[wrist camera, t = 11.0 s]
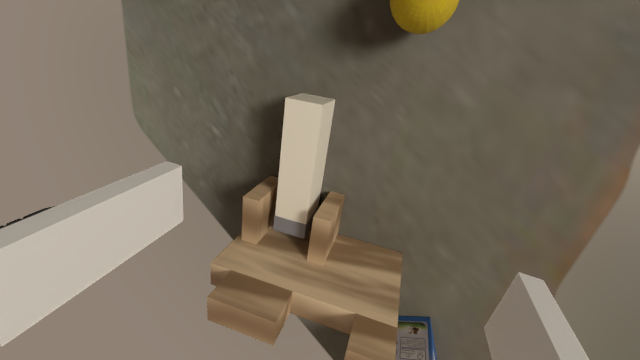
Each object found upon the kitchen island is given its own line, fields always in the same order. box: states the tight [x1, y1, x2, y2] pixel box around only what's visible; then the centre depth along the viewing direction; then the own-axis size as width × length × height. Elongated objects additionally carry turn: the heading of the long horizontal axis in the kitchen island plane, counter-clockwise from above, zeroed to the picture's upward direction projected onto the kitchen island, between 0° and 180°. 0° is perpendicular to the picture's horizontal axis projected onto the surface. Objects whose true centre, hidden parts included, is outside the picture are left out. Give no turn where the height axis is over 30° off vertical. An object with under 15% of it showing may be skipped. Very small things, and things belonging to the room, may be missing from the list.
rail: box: [273, 93, 335, 239], centre depth 35 cm, size 16×4×5 cm, turn 172°
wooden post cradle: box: [207, 176, 402, 360], centre depth 32 cm, size 9×20×16 cm, turn 82°
